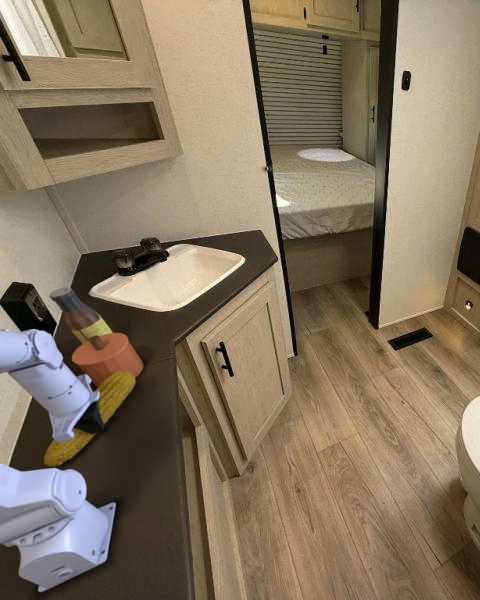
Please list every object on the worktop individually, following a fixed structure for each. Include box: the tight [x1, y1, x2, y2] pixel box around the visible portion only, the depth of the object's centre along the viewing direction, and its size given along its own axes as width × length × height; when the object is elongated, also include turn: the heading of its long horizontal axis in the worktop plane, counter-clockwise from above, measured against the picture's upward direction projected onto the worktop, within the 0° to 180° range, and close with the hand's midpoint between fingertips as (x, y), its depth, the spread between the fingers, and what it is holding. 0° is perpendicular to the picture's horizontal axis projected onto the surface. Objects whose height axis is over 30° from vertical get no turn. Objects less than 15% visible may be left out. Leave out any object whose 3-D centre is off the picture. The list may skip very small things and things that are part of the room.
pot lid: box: [71, 332, 130, 366], centre depth 74 cm, size 10×10×4 cm
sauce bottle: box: [49, 286, 114, 345], centre depth 80 cm, size 6×6×20 cm
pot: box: [77, 341, 144, 388], centre depth 77 cm, size 10×10×8 cm
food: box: [43, 370, 137, 468], centre depth 67 cm, size 21×6×6 cm, turn 1°
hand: (97, 430), depth 64 cm, fingers closed
